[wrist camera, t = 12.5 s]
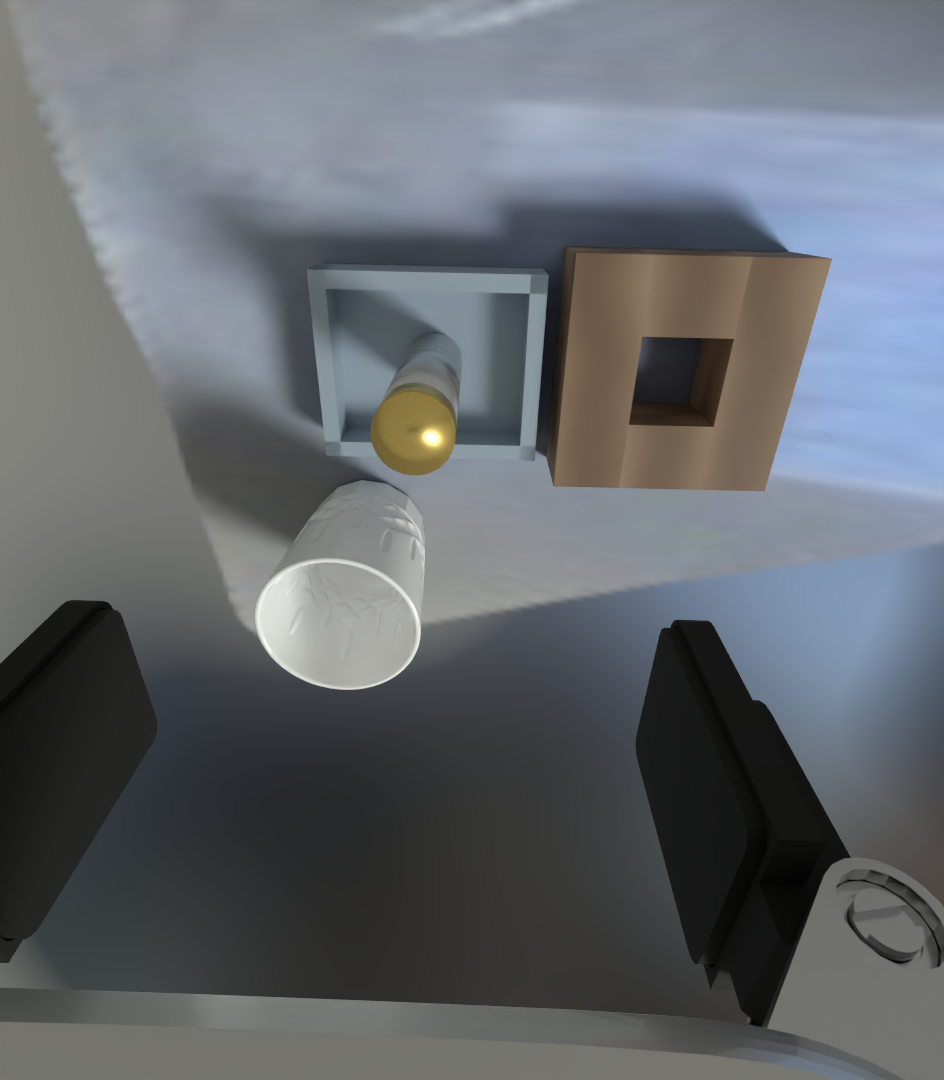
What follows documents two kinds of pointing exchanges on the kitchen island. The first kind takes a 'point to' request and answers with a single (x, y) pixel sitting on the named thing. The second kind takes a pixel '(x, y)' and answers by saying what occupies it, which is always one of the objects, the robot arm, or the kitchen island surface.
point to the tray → (421, 307)
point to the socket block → (721, 373)
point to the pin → (420, 407)
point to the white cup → (348, 590)
